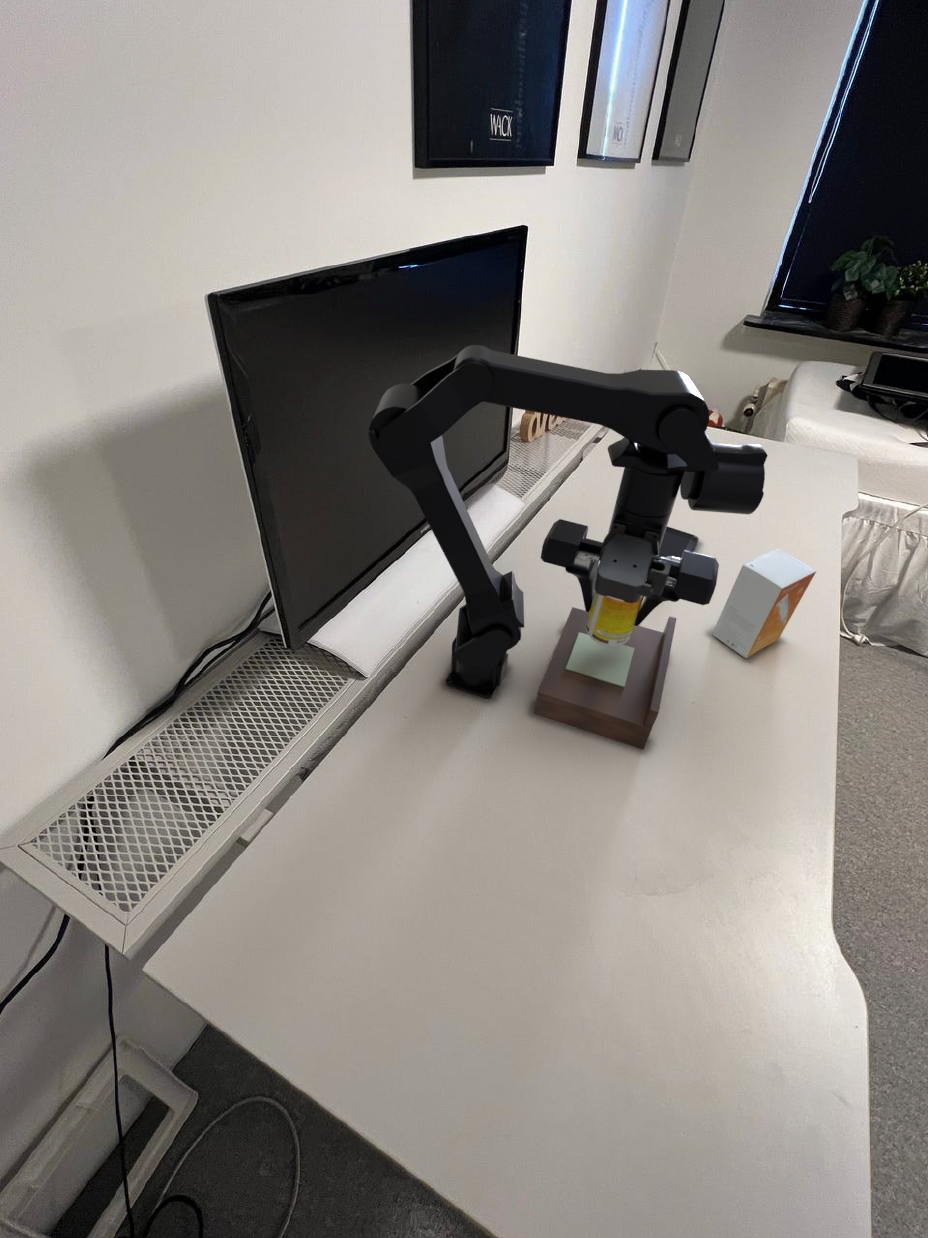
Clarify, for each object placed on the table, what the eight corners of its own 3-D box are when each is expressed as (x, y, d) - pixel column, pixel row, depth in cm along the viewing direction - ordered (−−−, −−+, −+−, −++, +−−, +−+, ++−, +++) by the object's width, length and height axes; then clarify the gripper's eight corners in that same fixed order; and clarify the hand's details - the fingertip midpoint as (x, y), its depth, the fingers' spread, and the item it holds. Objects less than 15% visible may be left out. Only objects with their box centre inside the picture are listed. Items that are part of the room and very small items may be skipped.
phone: (700, 536, 107) (677, 578, 97) (698, 542, 108) (675, 583, 98) (657, 523, 110) (630, 562, 100) (655, 528, 111) (629, 567, 101)
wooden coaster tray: (533, 713, 76) (540, 675, 71) (567, 627, 88) (576, 590, 84) (643, 749, 72) (658, 712, 68) (662, 654, 85) (676, 617, 80)
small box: (746, 660, 85) (782, 588, 76) (710, 634, 89) (741, 563, 80) (779, 640, 89) (818, 570, 80) (744, 616, 92) (777, 546, 84)
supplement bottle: (638, 644, 73) (662, 578, 66) (598, 653, 71) (618, 586, 64) (615, 614, 76) (635, 549, 70) (576, 622, 75) (593, 556, 68)
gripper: (535, 518, 58) (518, 635, 68) (733, 568, 53) (682, 686, 64) (565, 471, 66) (545, 582, 76) (739, 511, 61) (693, 623, 72)
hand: (611, 616), depth 72 cm, fingers closed on supplement bottle, 5 cm apart
